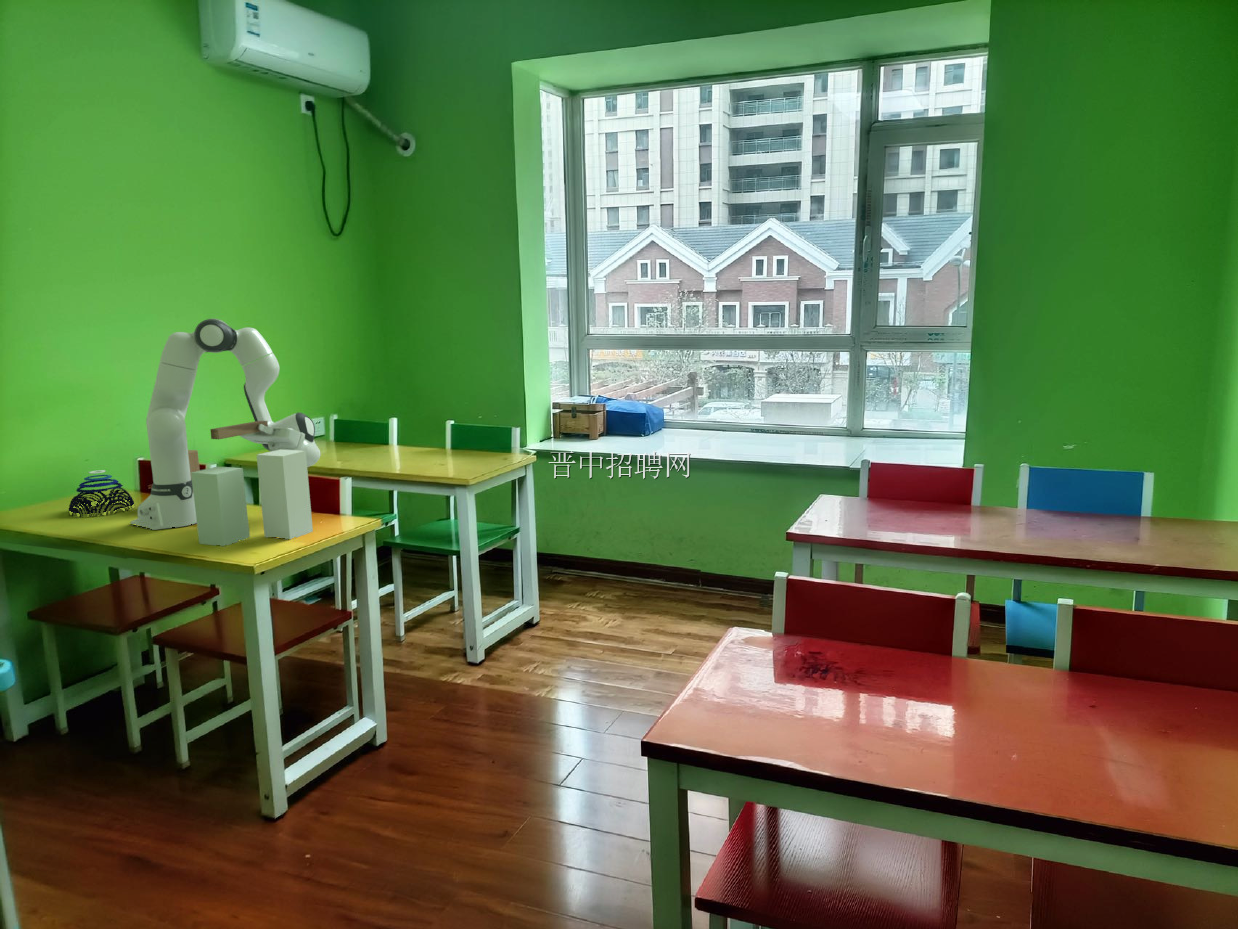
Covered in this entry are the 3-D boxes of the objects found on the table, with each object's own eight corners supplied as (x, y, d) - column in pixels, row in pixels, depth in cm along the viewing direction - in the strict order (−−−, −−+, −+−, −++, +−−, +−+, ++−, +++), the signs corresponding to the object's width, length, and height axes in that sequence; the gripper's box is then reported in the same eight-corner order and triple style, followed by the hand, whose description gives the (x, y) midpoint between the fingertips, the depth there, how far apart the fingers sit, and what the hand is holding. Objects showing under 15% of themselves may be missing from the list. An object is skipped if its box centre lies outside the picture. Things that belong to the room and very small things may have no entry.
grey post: (264, 537, 262) (256, 454, 257) (287, 529, 271) (280, 449, 266) (290, 539, 258) (282, 456, 253) (312, 531, 267) (305, 450, 263)
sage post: (199, 543, 256) (191, 472, 252) (225, 535, 265) (217, 466, 261) (224, 546, 252) (216, 474, 248) (249, 537, 261) (242, 468, 257)
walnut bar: (211, 438, 254) (210, 429, 253) (261, 429, 272) (260, 420, 272) (219, 439, 253) (217, 429, 252) (268, 430, 271) (267, 420, 271)
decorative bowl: (56, 514, 298) (50, 474, 295) (112, 502, 316) (107, 464, 313) (91, 520, 289) (85, 478, 286) (146, 507, 307) (141, 468, 304)
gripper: (260, 431, 284) (230, 415, 272) (309, 434, 277) (280, 417, 264) (254, 449, 282) (224, 434, 270) (303, 452, 275) (275, 436, 262)
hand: (252, 426), depth 267 cm, fingers closed on walnut bar, 3 cm apart
